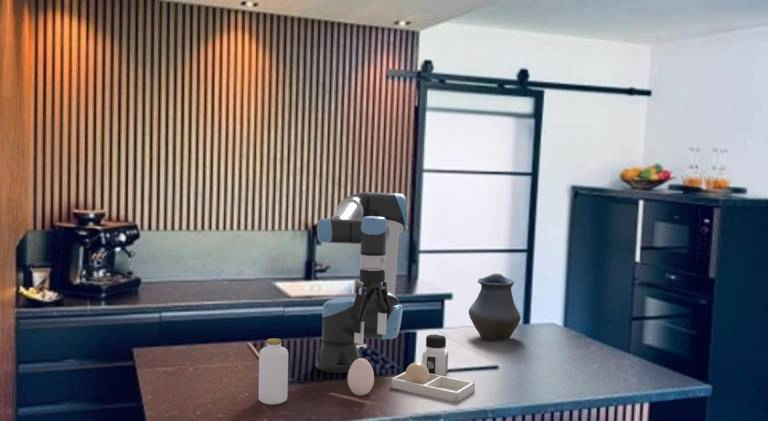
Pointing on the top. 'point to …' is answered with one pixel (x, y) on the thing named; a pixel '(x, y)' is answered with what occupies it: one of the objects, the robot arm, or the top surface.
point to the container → (436, 354)
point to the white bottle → (273, 373)
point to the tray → (436, 387)
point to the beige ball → (417, 373)
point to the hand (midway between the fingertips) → (370, 338)
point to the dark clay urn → (495, 308)
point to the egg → (360, 377)
